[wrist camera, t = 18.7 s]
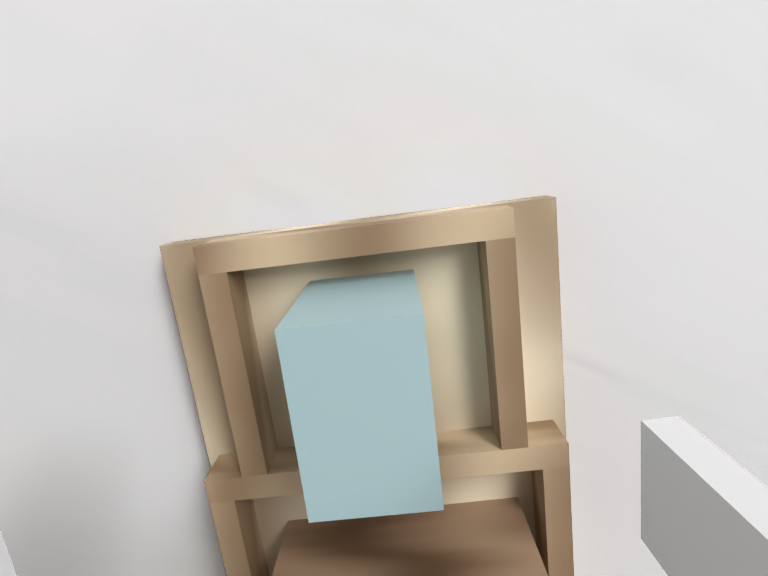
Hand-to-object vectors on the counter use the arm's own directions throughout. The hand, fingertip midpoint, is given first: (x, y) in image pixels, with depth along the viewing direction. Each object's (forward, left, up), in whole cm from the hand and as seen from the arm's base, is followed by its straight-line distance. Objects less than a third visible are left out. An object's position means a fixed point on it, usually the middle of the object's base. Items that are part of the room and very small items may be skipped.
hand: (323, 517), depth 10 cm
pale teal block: (+1, 0, -10) cm, 10 cm away
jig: (+1, -5, -11) cm, 12 cm away
